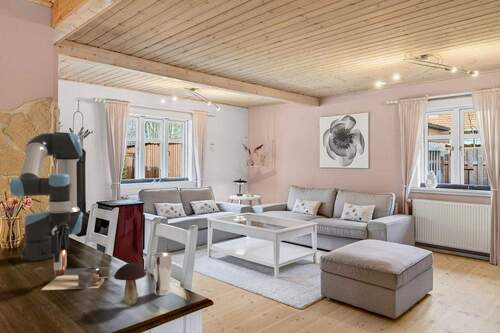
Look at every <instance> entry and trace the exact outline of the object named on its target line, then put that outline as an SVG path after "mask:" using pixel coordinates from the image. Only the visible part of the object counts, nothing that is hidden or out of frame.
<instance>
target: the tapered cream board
mask: <svg viewBox="0 0 500 333" xmlns="http://www.w3.org/2000/svg"><path fill="white" fill-rule="evenodd" d="M112 272H113V269H112V270H111V269H110V274H111V273H112ZM97 275H98V276H99V274H97ZM107 278H108V277H99V279H98V281H97V282H96V283H92V273H88V272H81V273H78V275H63V276H55V278H54V279H52V280H51V281H49V283H47V284H46V285H45V286H44V287H42V288H41V289H40V291H51V290H52V291H55V290H56V291H57V290H58V291H59V290H79V289H99V288H100V286H101V285H102V284H103V283H104V282H105V280H106V279H107Z"/></svg>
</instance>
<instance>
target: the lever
mask: <svg viewBox="0 0 500 333" xmlns="http://www.w3.org/2000/svg"><path fill="white" fill-rule="evenodd" d="M61 253H62V270H54V276H55V277H57V276H63V275H78V273H81V272H88V273H96V274H99V277H107V278H109V277H110V276H111V273H110V270H111V266H100V267H99V266H91V267H85V268H84V267H83V268H81V267H80V268H66V267H67V250H65V249H61ZM61 253H60V254H61Z"/></svg>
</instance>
